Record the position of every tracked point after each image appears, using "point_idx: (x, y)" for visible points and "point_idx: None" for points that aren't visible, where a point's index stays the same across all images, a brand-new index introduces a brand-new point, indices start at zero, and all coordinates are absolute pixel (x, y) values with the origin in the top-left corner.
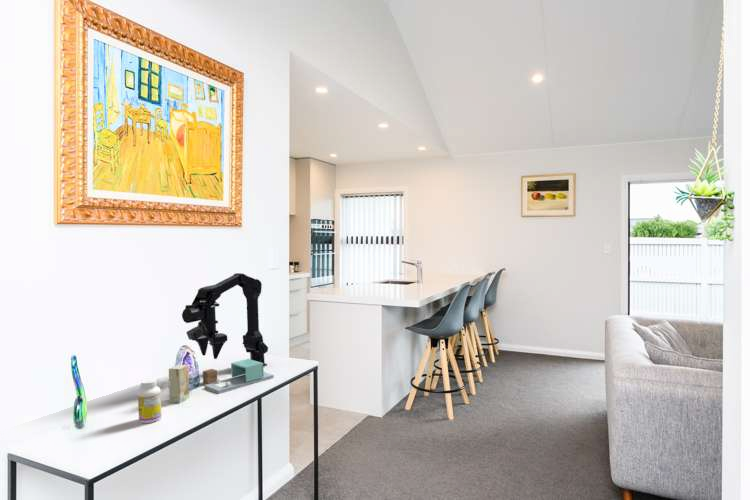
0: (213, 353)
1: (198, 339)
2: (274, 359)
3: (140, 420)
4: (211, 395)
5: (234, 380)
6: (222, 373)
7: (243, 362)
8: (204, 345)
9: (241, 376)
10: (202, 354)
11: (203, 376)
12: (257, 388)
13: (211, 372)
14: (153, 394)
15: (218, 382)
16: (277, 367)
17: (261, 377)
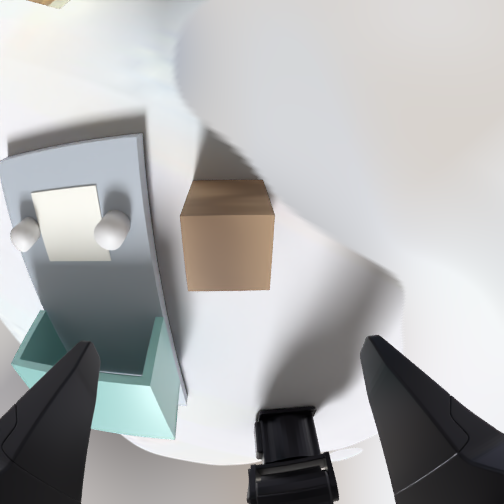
0: (47, 387)
1: (497, 502)
2: None
3: None
4: (8, 118)
5: (104, 298)
6: (329, 327)
7: (114, 409)
8: (405, 451)
9: None
10: (377, 341)
11: (259, 196)
12: (5, 301)
13: (184, 245)
14: None
15: (100, 219)
16: (207, 434)
17: None
